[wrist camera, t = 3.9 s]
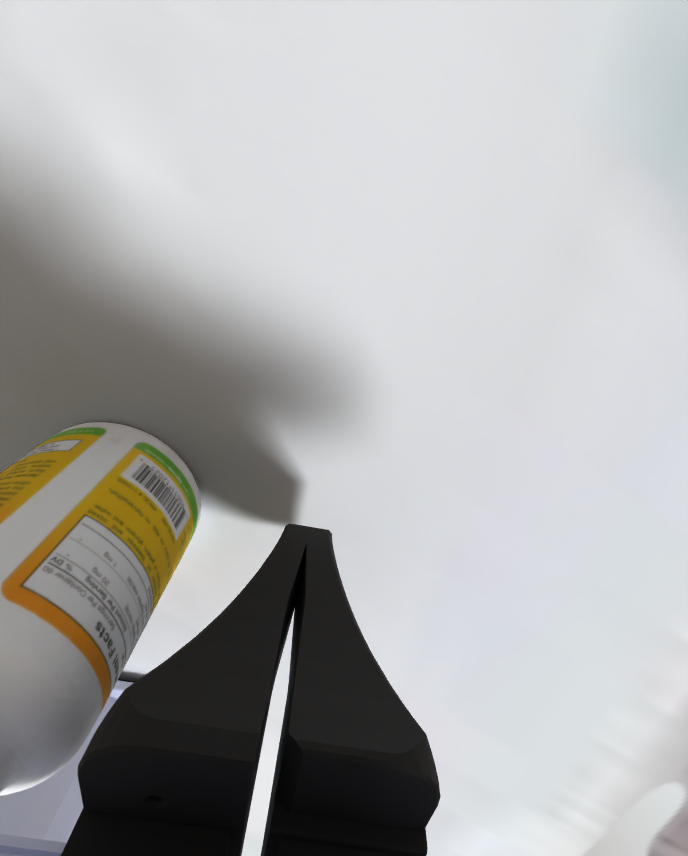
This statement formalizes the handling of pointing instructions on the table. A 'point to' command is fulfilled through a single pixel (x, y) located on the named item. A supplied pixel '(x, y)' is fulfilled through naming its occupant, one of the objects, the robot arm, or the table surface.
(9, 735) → the supplement bottle
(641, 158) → the table surface
